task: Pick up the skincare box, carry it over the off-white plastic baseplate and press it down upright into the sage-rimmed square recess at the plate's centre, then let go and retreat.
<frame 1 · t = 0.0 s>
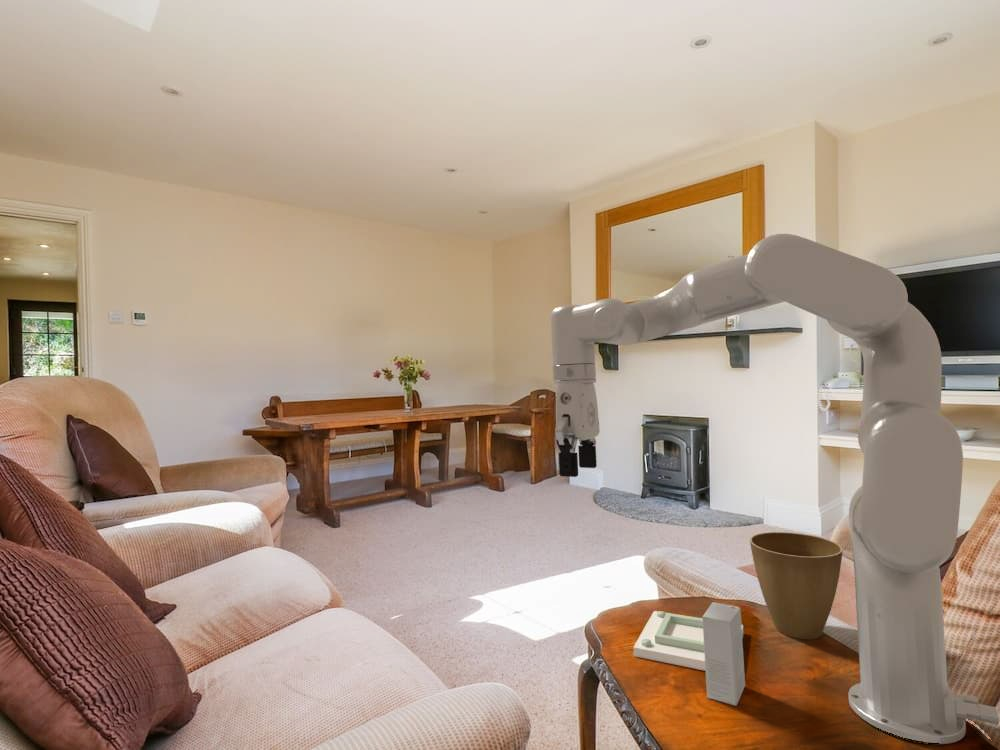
hand: (578, 471, 94), 31 cm above the table, fingers open, 9 cm apart
skincare box: (726, 693, 79), on the table
plant pot: (799, 631, 97), on the table
baseplate: (690, 644, 94), on the table
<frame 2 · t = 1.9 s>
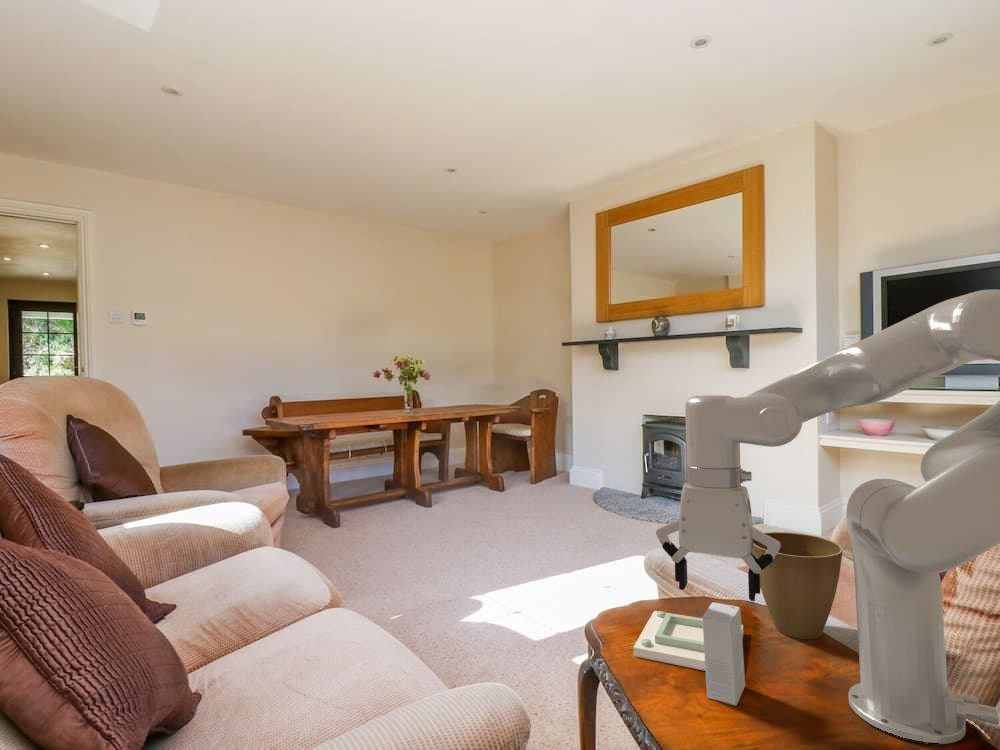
hand: (716, 592, 79), 15 cm above the table, fingers open, 9 cm apart
nothing on the table moved.
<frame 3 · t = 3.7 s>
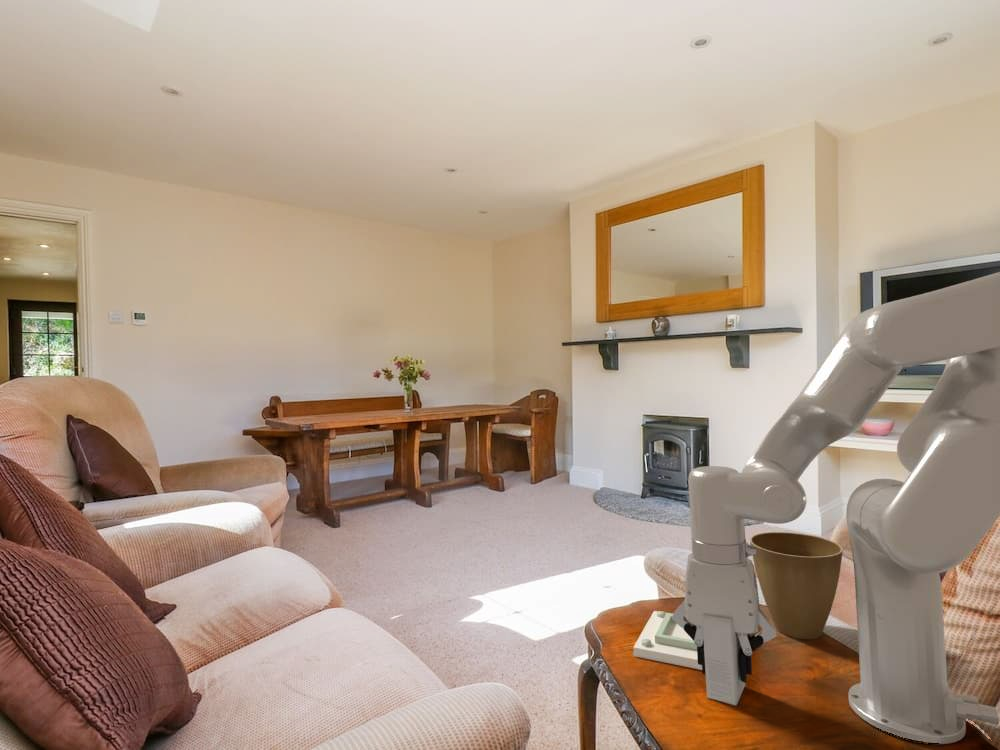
hand: (724, 672, 79), 3 cm above the table, fingers closed on skincare box, 4 cm apart
skincare box: (725, 693, 79), on the table, touching gripper
everything else where it was.
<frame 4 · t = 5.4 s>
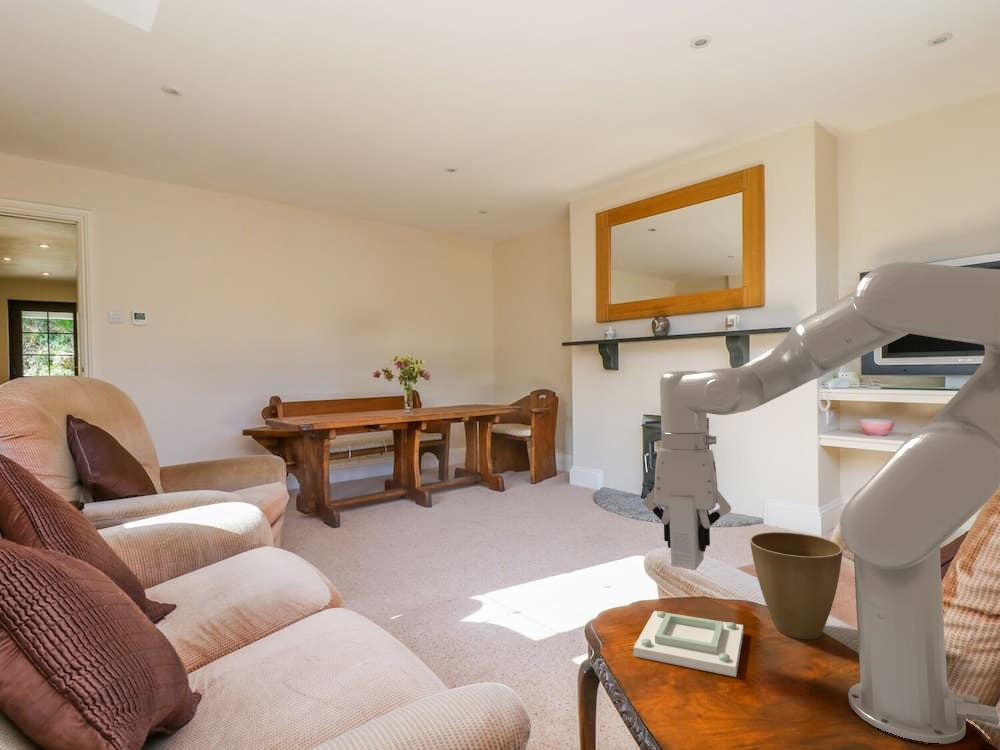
hand: (687, 546, 92), 18 cm above the table, fingers closed on skincare box, 4 cm apart
skincare box: (687, 564, 92), point 15 cm above the table, touching gripper
everything else where it was.
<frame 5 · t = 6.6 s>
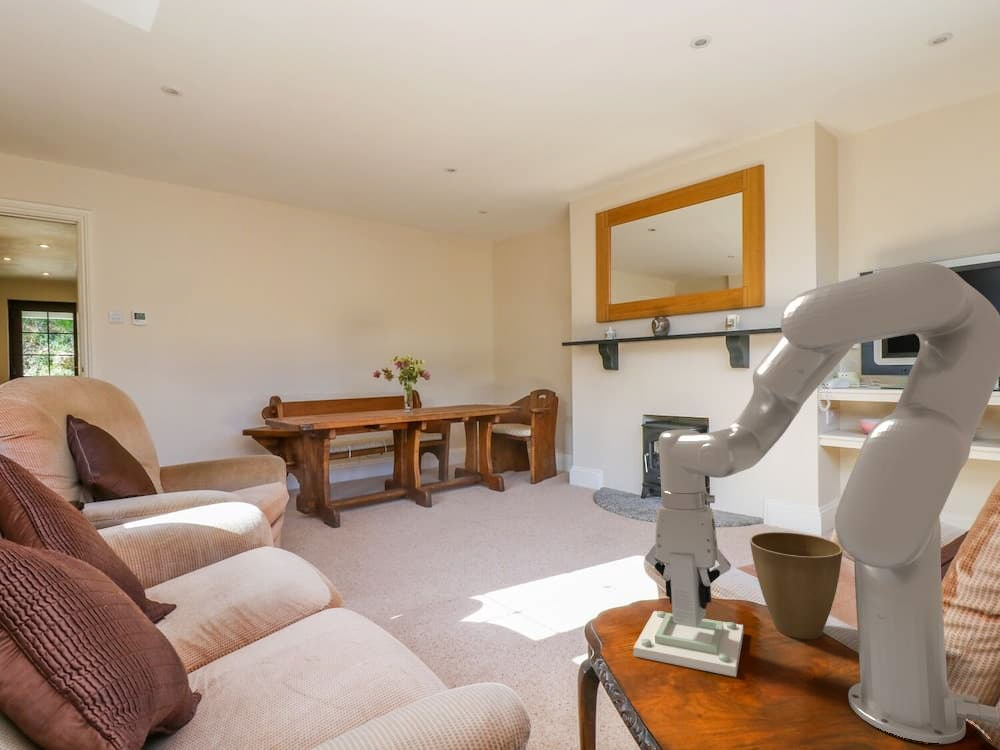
hand: (688, 602, 94), 7 cm above the table, fingers closed on skincare box, 4 cm apart
skincare box: (689, 620, 94), point 4 cm above the table, touching gripper
everything else where it was.
when the fingers open (5 cm above the table, at t = 7.4 s): skincare box stays where it is, resting on baseplate.
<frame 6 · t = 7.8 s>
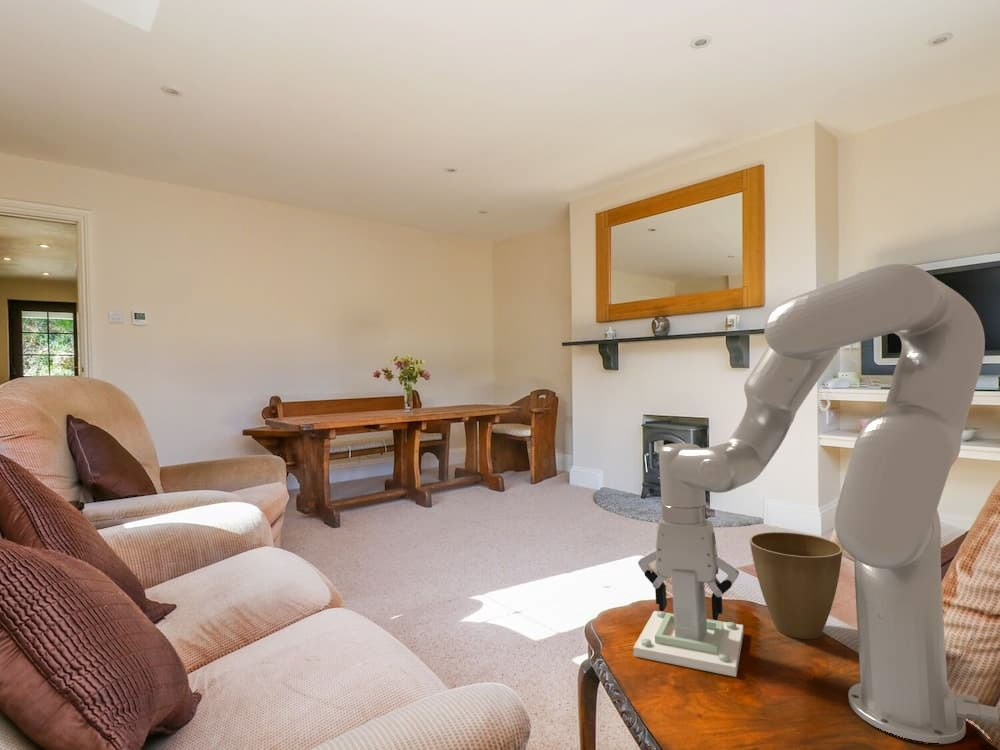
hand: (688, 612, 94), 6 cm above the table, fingers open, 8 cm apart
skincare box: (691, 637, 93), point 1 cm above the table, touching baseplate
everything else where it was.
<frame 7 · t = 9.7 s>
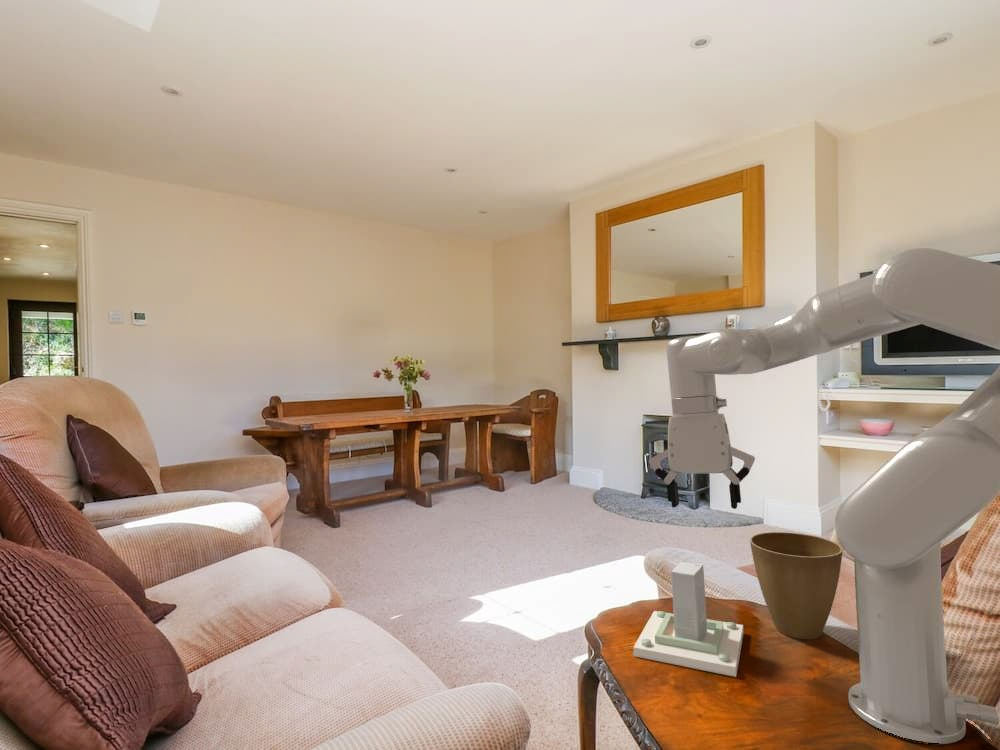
hand: (704, 506, 91), 25 cm above the table, fingers open, 9 cm apart
nothing on the table moved.
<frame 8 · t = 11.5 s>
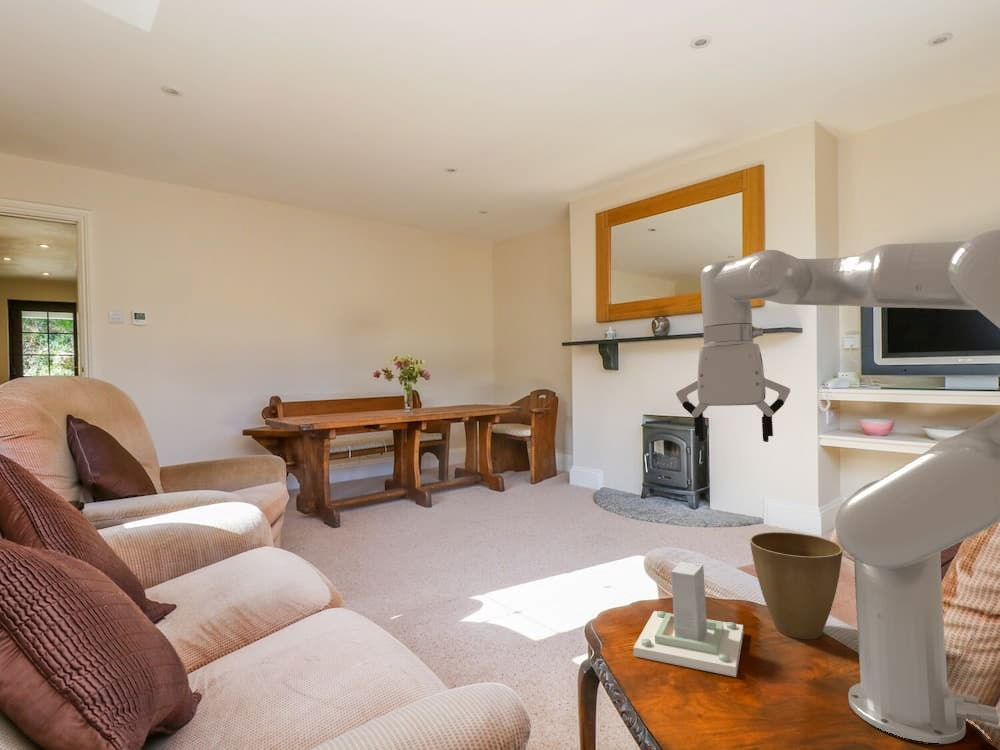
hand: (733, 440, 88), 36 cm above the table, fingers open, 9 cm apart
nothing on the table moved.
at the end: skincare box 0.2 cm off-centre on the baseplate, point 1.3 cm above the baseplate's base; skincare box tilted 0°; the gripper is holding nothing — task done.
